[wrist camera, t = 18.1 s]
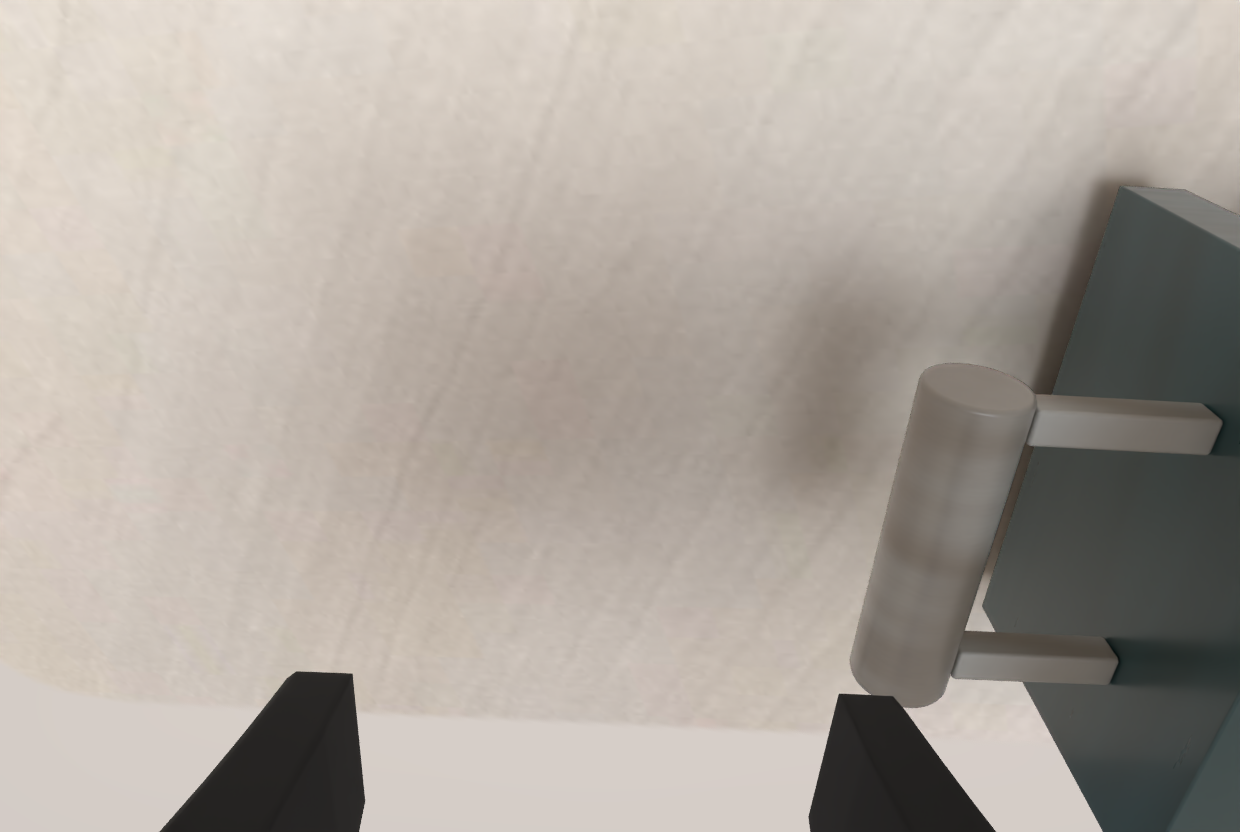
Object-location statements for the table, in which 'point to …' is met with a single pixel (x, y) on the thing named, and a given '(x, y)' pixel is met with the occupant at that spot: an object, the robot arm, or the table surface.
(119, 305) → the table surface
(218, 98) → the table surface
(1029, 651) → the drawer
